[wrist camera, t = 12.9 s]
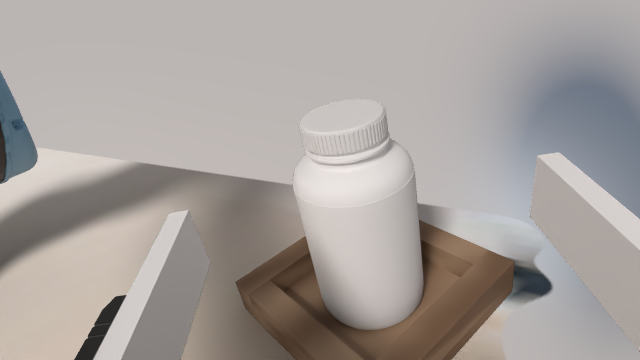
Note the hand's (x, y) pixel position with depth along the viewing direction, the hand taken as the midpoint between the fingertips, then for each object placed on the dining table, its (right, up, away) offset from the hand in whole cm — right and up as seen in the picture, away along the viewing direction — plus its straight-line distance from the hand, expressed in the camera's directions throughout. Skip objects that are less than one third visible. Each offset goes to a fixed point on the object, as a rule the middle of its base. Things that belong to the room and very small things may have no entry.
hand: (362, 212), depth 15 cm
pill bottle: (+2, -8, +16) cm, 18 cm away
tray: (+2, -8, +17) cm, 19 cm away
